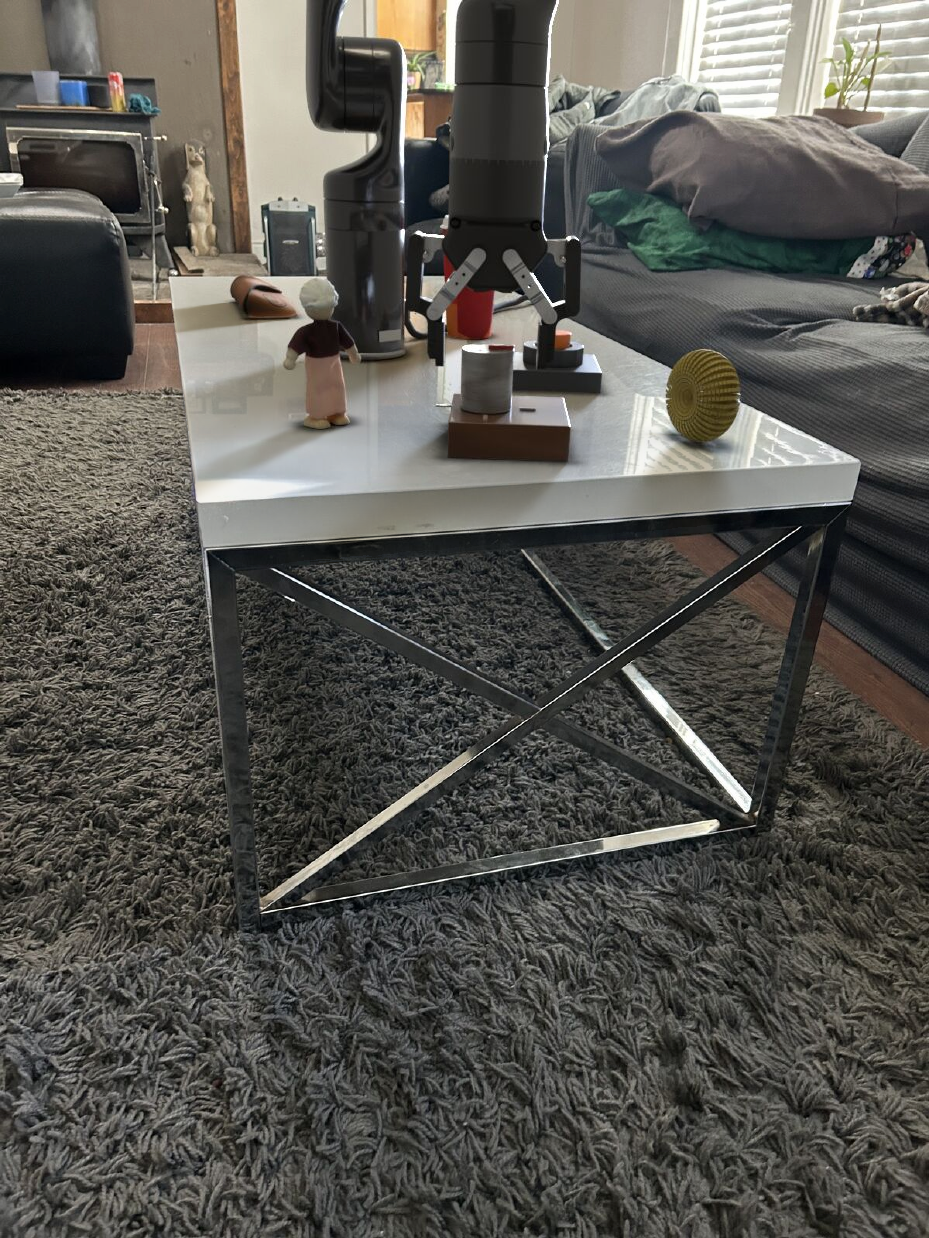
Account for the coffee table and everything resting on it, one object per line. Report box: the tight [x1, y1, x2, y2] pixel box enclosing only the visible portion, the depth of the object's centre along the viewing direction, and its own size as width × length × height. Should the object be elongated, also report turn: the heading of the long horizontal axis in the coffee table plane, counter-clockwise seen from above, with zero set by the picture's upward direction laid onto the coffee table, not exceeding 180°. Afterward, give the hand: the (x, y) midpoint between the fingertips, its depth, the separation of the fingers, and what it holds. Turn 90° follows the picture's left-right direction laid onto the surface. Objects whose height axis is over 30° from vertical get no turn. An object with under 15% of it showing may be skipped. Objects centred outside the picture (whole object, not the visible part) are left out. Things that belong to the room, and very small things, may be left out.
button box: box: [512, 339, 603, 394], centre depth 105 cm, size 10×10×4 cm
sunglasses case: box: [229, 274, 299, 320], centre depth 144 cm, size 18×7×7 cm
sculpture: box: [664, 348, 742, 443], centre depth 84 cm, size 8×4×8 cm, turn 24°
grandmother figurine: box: [282, 277, 362, 430], centre depth 85 cm, size 8×4×13 cm, turn 141°
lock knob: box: [460, 342, 515, 414], centre depth 81 cm, size 4×4×5 cm
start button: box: [536, 328, 572, 349], centre depth 104 cm, size 4×4×2 cm
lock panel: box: [435, 393, 572, 462], centre depth 83 cm, size 10×11×3 cm
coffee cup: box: [439, 214, 496, 340], centre depth 127 cm, size 8×8×15 cm
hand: (489, 366), depth 81 cm, fingers open, 8 cm apart
